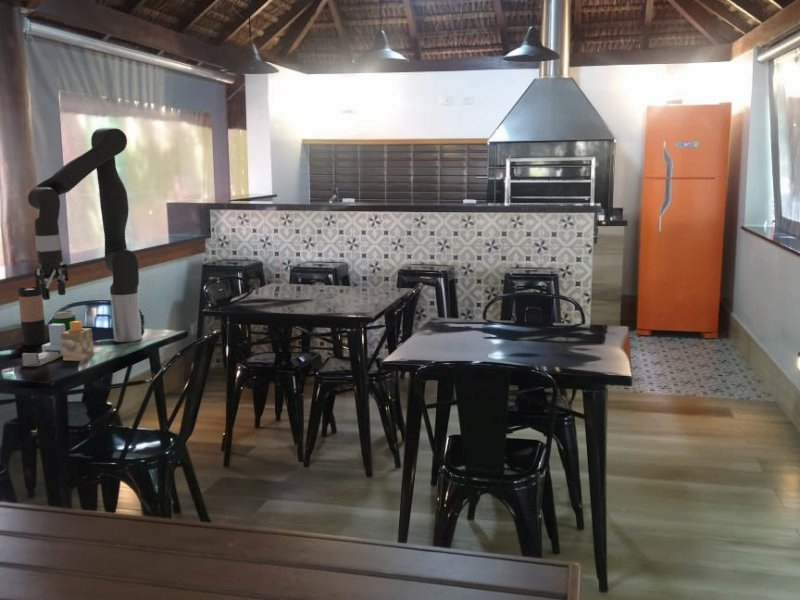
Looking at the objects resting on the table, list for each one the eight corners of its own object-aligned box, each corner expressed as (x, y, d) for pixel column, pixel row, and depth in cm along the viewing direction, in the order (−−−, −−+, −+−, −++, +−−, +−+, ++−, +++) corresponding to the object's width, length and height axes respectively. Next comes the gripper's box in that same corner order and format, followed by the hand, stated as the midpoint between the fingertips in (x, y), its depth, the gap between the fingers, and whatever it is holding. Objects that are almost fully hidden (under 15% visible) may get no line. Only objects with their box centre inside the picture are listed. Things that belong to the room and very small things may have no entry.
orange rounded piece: (75, 335, 251) (73, 320, 251) (85, 335, 251) (83, 320, 250) (68, 337, 248) (67, 323, 247) (78, 338, 247) (77, 323, 246)
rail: (65, 348, 263) (64, 337, 262) (78, 349, 262) (77, 338, 261) (23, 366, 241) (22, 353, 240) (37, 366, 240) (36, 354, 239)
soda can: (81, 344, 269) (78, 311, 266) (59, 348, 263) (56, 314, 261) (72, 341, 274) (69, 308, 272) (51, 345, 269) (48, 311, 267)
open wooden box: (77, 354, 255) (75, 328, 253) (94, 354, 254) (92, 328, 252) (62, 360, 247) (60, 333, 245) (80, 361, 246) (78, 334, 244)
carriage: (55, 349, 259) (52, 322, 257) (75, 349, 258) (73, 322, 256) (42, 354, 252) (39, 326, 250) (63, 354, 251) (60, 326, 249)
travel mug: (37, 346, 267) (31, 290, 264) (18, 345, 269) (12, 289, 265) (51, 341, 275) (46, 286, 271) (32, 340, 276) (27, 286, 273)
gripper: (52, 246, 256) (57, 293, 259) (24, 251, 242) (30, 301, 245) (72, 246, 255) (77, 293, 258) (46, 251, 241) (51, 301, 244)
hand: (54, 297), depth 252 cm, fingers open, 8 cm apart
